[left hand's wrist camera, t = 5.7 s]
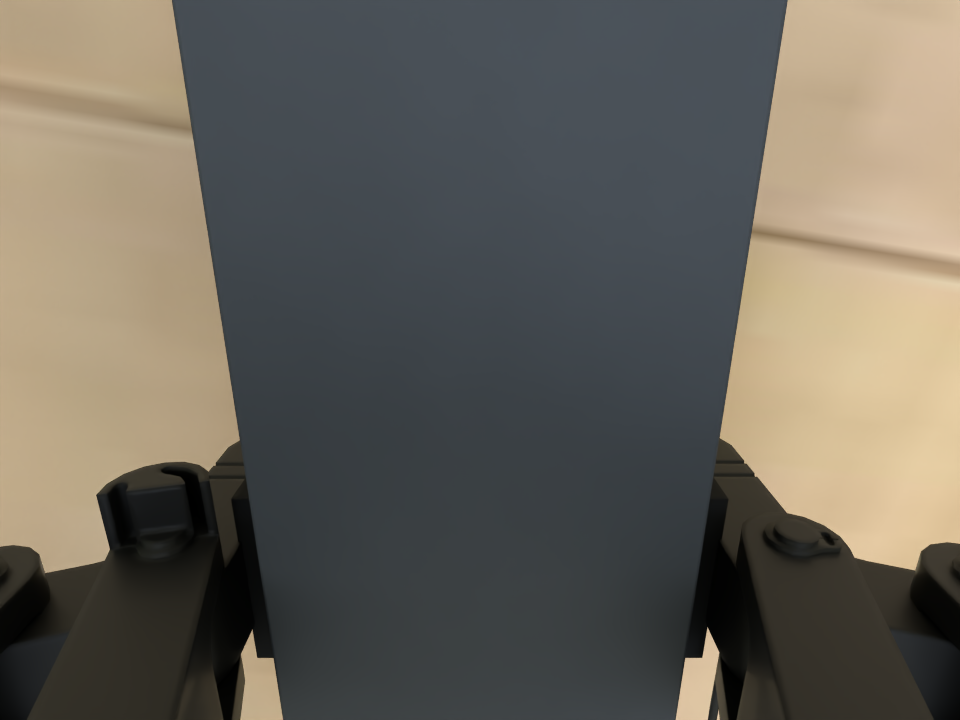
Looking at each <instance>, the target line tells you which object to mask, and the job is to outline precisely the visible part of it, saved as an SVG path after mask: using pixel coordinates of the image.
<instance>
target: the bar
mask: <svg viewBox="0 0 960 720" xmlns="http://www.w3.org/2000/svg"><path fill="white" fill-rule="evenodd" d="M787 1H788V0H172V3H173V10H174V16H175V23H176V29H177V36H178V42H179V49H180V55H181V62H182V68H183V75H184V81H185V88H186V94H187V100H188V107H189V113H190V120H191V126H192V133H193V139H194V146H195V152H196V159H197V165H198V172H199V178H200V185H201V191H202V198H203V204H204V210H205V217H206V223H207V230H208V236H209V243H210V249H211V256H212V262H213V269H214V275H215V282H216V288H217V295H218V301H219V307H220V314H221V320H222V327H223V333H224V340H225V346H226V353H227V359H228V366H229V372H230V379H231V385H232V392H233V398H234V405H235V411H236V417H237V424H238V430H239V437H240V443H241V450H242V456H243V463H244V469H245V476H246V482H247V489H248V495H249V502H250V508H251V514H252V521H253V527H254V534H255V540H256V547H257V553H258V560H259V566H260V573H261V579H262V586H263V592H264V599H265V605H266V611H267V618H268V624H269V631H270V637H271V644H272V650H273V657H274V663H275V670H276V676H277V683H278V689H279V696H280V702H281V709H282V715H283V720H676V713H677V707H678V700H679V694H680V688H681V681H682V675H683V668H684V662H685V655H686V649H687V643H688V636H689V630H690V623H691V617H692V611H693V604H694V598H695V591H696V585H697V578H698V572H699V566H700V559H701V553H702V546H703V540H704V534H705V527H706V521H707V514H708V508H709V501H710V495H711V489H712V482H713V476H714V469H715V463H716V456H717V450H718V444H719V437H720V431H721V424H722V418H723V412H724V405H725V399H726V392H727V386H728V379H729V373H730V367H731V360H732V354H733V347H734V341H735V334H736V328H737V322H738V315H739V309H740V302H741V296H742V290H743V283H744V277H745V270H746V264H747V257H748V251H749V245H750V238H751V232H752V225H753V219H754V212H755V206H756V200H757V193H758V187H759V180H760V174H761V168H762V161H763V155H764V148H765V142H766V135H767V129H768V123H769V116H770V110H771V103H772V97H773V91H774V84H775V78H776V71H777V65H778V58H779V52H780V46H781V39H782V33H783V26H784V20H785V13H786V7H787Z"/></svg>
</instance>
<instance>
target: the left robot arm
mask: <svg viewBox="0 0 960 720" xmlns="http://www.w3.org/2000/svg"><path fill="white" fill-rule="evenodd" d="M96 496H97V500H98V504H99V508H100V512H101V515H102V519H103V523H104V527H105V531H106V535H107V539H108V543H109V547H110V551H109V553H108V555H107V557H106V559H105V561H102V562H98V563H94V564H90V565H85V566H80V567H75V568H70V569H65V570H60V571H55V572H50V573H45V572H44V569H43V565H42V562H41V559H40V556H39V554H38V553H37V552H35V551H34V550H33V549H31V548H30V547H22V546H15V545H11V546H3V547H0V720H240V717H241V709H242V701H243V693H244V685H245V677H244V670H243V664H242V658H241V653H242V650H243V648H244V646H245V644H246V642H247V640H248V637H249V635H250V633H251V631H252V629H253V634H254V640H255V646H256V652H257V658H274V657H273V650H272V644H271V637H270V631H269V624H268V618H267V611H266V605H265V599H264V592H263V586H262V579H261V573H260V566H259V560H258V553H257V547H256V540H255V534H254V527H253V521H252V514H251V508H250V502H249V495H248V489H247V482H246V476H245V469H244V463H243V456H242V450H241V443H240V441H238V442H237V443H235V444H233V445H232V446H230V447H228V449H227V450H226V451H225V452H224V454H223V455H222V456H221V457H220V458H219V460H218V461H217V462H216V466H213V467H212V468H211V470H210V471H209V472H208V471H207V470H205V469H204V468H203V467H201V466H200V465H196V464H192V463H187V462H168V463H161V464H156V465H151V466H145V467H142V468H139V469H137V470H134V471H131V472H128V473H126V474H123V475H122V476H120V477H118V478H116V479H115V480H113V481H111V482H110V483H108V484H106V485H105V487H104V488H103V489H102V490H101V491H100V492H99V493H98V494H97V495H96ZM707 627H708V629H709V631H710V633H711V635H712V637H713V639H714V642H715V644H716V646H717V648H718V650H719V652H720V653H719V658H718V664H717V670H716V675H715V681H714V686H713V692H712V698H711V703H710V709H709V716H708V720H717V715H718V709H719V715H720V720H960V544H956V543H948V542H947V543H939V544H931V545H929V546H928V547H927V548H925V549H924V550H923V551H921V554H920V557H919V560H918V563H917V567H916V570H915V571H914V570H909V569H904V568H899V567H894V566H889V565H884V564H879V563H874V562H869V561H864V560H861V559H857V558H854V556H853V554H852V552H851V550H850V548H849V547H848V546H847V545H846V543H845V542H844V541H843V540H842V538H841V537H840V536H839V535H837V534H836V533H834V532H833V531H831V530H830V529H828V528H827V527H825V526H824V525H821V524H819V523H817V522H814V521H812V520H810V519H807V518H805V517H801V516H797V515H792V514H788V513H786V512H785V510H784V509H783V508H782V507H781V505H780V504H779V503H778V502H777V500H776V499H775V498H774V497H773V496H772V494H771V493H770V492H769V491H768V489H767V488H766V487H765V486H764V485H763V483H762V482H761V481H760V480H759V478H758V477H755V476H754V472H753V471H752V470H751V469H750V467H749V466H748V465H747V464H744V460H743V459H742V458H741V456H740V455H739V454H738V453H737V452H736V450H735V449H734V448H733V447H732V445H730V444H728V443H727V442H725V441H723V440H722V439H720V438H719V444H718V450H717V456H716V463H715V469H714V476H713V482H712V489H711V495H710V501H709V508H708V514H707V521H706V527H705V534H704V540H703V546H702V553H701V559H700V566H699V572H698V578H697V585H696V591H695V598H694V604H693V611H692V617H691V623H690V630H689V636H688V643H687V649H686V655H685V658H702V656H703V650H704V644H705V638H706V632H707Z"/></svg>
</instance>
